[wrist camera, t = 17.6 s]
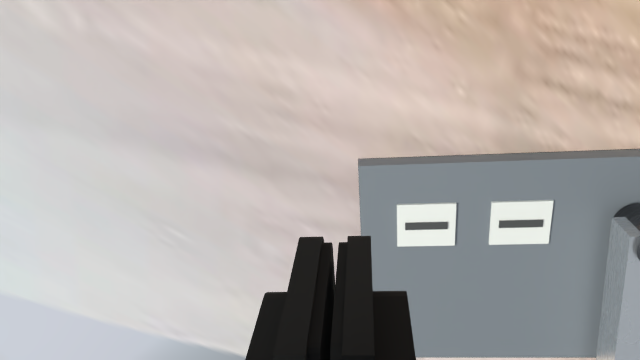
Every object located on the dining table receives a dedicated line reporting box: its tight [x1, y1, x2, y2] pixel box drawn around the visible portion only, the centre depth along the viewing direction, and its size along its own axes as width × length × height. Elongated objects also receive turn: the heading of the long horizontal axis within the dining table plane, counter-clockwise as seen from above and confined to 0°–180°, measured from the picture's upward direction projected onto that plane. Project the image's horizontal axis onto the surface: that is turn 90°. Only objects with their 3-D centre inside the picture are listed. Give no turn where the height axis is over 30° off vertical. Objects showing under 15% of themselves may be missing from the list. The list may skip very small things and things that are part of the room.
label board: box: [358, 149, 640, 357], centre depth 41 cm, size 22×18×2 cm
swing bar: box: [596, 203, 640, 360], centre depth 40 cm, size 22×4×4 cm, turn 7°
